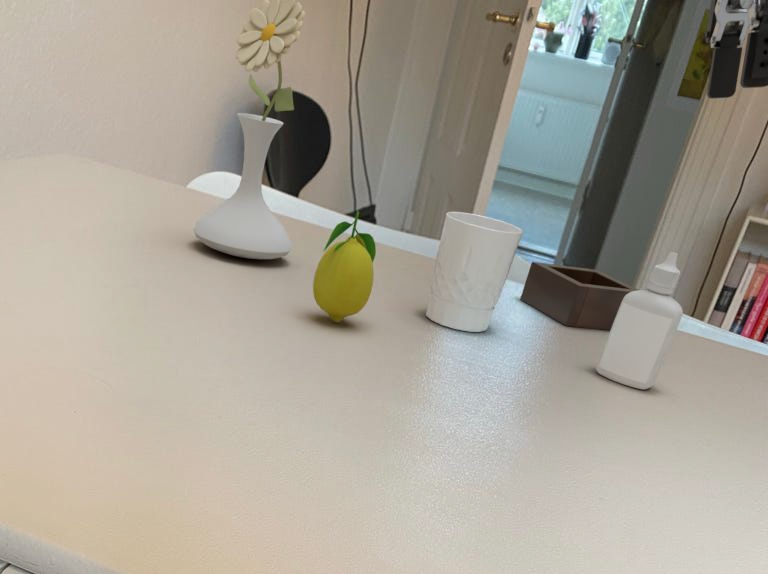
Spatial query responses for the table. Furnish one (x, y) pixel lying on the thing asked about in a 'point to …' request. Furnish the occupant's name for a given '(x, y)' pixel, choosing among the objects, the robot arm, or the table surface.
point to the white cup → (471, 270)
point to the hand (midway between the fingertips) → (736, 92)
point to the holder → (575, 295)
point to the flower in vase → (256, 142)
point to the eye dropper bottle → (643, 330)
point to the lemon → (345, 273)
